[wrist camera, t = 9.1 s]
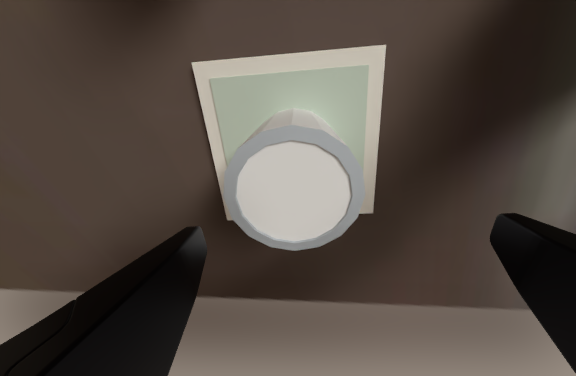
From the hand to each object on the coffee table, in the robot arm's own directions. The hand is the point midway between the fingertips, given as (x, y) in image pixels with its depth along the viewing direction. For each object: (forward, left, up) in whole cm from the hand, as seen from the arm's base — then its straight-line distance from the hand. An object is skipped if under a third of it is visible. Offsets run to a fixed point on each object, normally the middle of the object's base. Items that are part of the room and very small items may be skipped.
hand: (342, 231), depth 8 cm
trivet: (+2, +1, -12) cm, 12 cm away
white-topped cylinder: (+2, +1, -12) cm, 12 cm away
